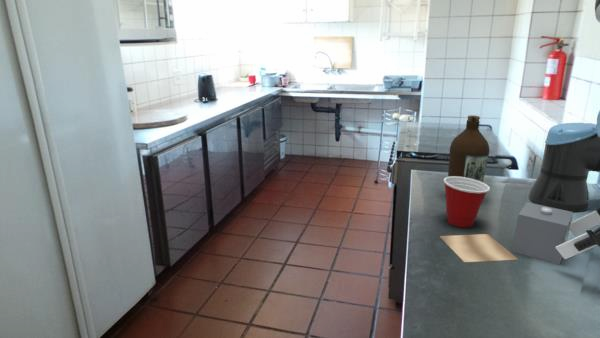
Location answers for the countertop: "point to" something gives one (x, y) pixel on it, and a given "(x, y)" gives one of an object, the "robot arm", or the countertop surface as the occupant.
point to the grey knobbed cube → (541, 232)
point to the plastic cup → (463, 199)
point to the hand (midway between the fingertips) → (565, 240)
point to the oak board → (477, 248)
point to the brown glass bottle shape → (469, 152)
